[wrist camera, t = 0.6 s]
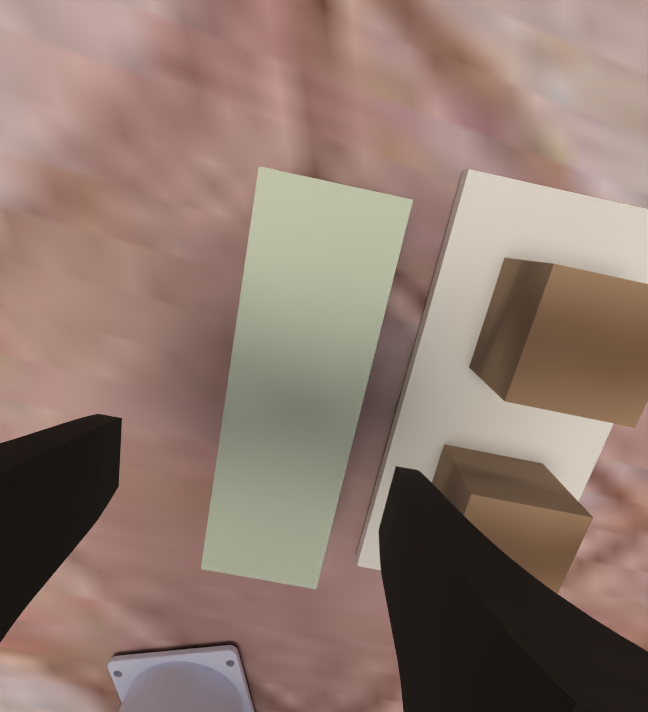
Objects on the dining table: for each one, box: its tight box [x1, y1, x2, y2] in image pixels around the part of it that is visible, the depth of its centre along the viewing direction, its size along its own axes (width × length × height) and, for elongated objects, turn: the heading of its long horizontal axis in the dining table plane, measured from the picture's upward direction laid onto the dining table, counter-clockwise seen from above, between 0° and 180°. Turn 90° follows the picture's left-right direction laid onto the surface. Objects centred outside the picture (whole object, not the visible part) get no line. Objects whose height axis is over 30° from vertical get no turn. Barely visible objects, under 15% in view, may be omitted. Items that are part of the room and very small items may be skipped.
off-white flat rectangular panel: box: [356, 169, 648, 570], centre depth 20 cm, size 20×10×1 cm, turn 168°
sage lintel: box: [201, 166, 413, 589], centre depth 18 cm, size 16×5×5 cm, turn 169°
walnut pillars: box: [432, 258, 648, 594], centre depth 17 cm, size 14×5×4 cm, turn 168°
